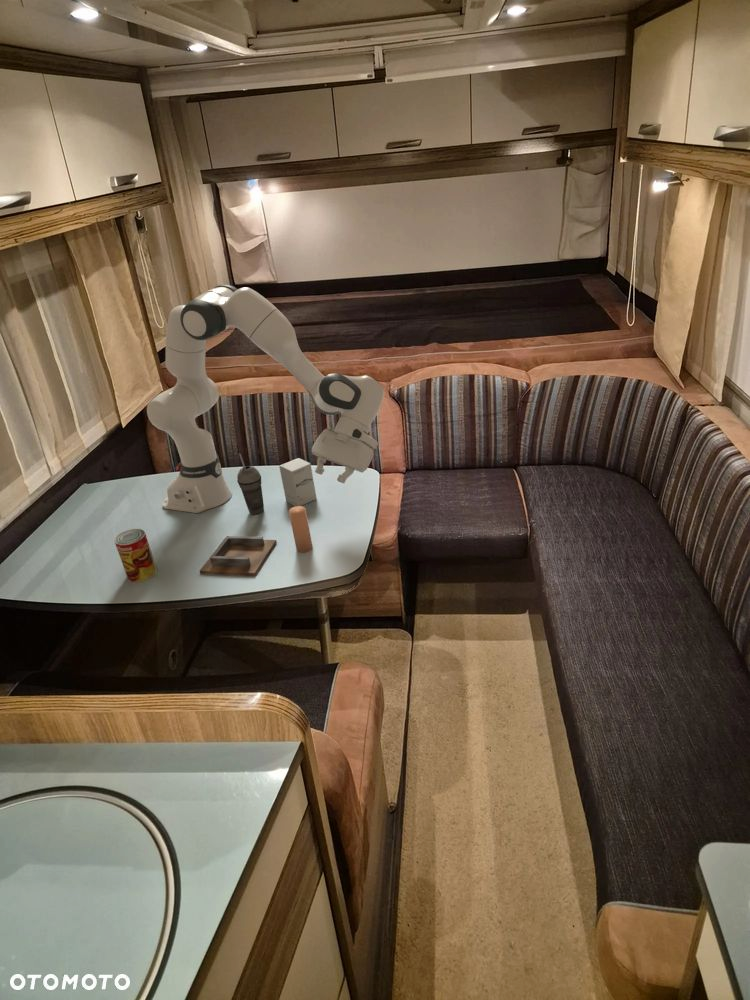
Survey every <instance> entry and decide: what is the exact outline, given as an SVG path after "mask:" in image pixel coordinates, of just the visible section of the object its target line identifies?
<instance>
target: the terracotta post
mask: <svg viewBox="0 0 750 1000" xmlns="http://www.w3.org/2000/svg"><path fill="white" fill-rule="evenodd" d="M288 515H289V520H290V525H291V530H292V534H293V539H294V544H295V549H296V551H297V552H299V553H306V552H307V553H308V552H309V551H311V550H312V549H313V542H312V536H311V531H310V525H309V520H308V516H307V515H308V514H307V510H306V507H305V506H304V505H302V506H293V507H290V509H289V510H288Z"/></svg>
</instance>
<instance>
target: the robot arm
mask: <svg viewBox="0 0 750 1000" xmlns="http://www.w3.org/2000/svg"><path fill="white" fill-rule="evenodd" d="M166 324H167V325H166V331H165V367H166V369H167V371H168V372H169V373H170V374H171V375H173V377H175V378H176V383H175V385H174V386H173V387H171V388H168V389H167V390H165V391H162V392H161V393H159V394H157V395H156V396H155V397H154V398H152V399H151V400H150V401H149V402H148V404H147V406H146V413H147V414H146V415H147V418H148V420H149V422H150V423H151V425H153V426H154V427H155V428H157V429H158V430H160V431H163V432H165V433H167V434H168V435H169V436H170V437H171V438H172V440H173V441H174V444H175V446H176V449H177V452H178V454H179V458H180V462H179V463H178V465H177V466H176V467H175V469H176V470H175V471H176V472H177V471H179V473H178V474H177V475H176V477H174V478H173V479H172V480H171V482H170V483H169V484H168V486H167V490H166V493H167V494H166V495H167V496H166V497H165V499H164V500H163V501H162V508H163V509H165V510H172V511H179V512H186V513H187V512H188V513H195V514H199V513H202V512H204V511H206V510H209V509H212V508H215V507H219V506H220V505H223V504H225V503H227V501H229V500H230V499H231V497H232V495H233V493H232V491H231V490H230V489H229V486H228V485H227V482H226V481H225V478H224V476H223V470H222V465H221V461H220V458H219V455H218V454H217V452H216V448H215V443H214V440H213V436H212V435H211V433H210V432H209V431H208V430H206V429H203V428H201V427H199V426H198V425H197V422H196V418H198V416H199V417H200V415H202V414H204V413H206V412H208V411H209V410H210V409H211V408H212V407H213V406H215V404H216V403H217V402H218V400H219V398H220V392H219V389H218V385H217V384H216V383H215V381H213V380H212V379H211V378H210V377H208V374H207V372H206V370H207V369H206V351H207V350H206V349H207V346H206V345H207V340H210V339H213V338H215V337H217V336H218V335H220V334H221V333H223V332H225V331H227V330H228V329H229V328H230V327H231V328H232V327H233V328H236V329H238V330H240V331H241V333H243V335H245V336H246V337H247V338H248V339H249V340H250V341H251V342H252V343H253V344H254V345H255V346H256V347H258V348H259V349H260V350H261V351H263V353H266V355H268V356H269V357H271V358H272V359H273V360H275V361H276V362H277V363H278V364H280V365H281V366H283V367H284V368H285V370H287V371H288V372H289V373H290V374H291V375H292V376H293V377H294V378H295V379H296V381H298V382H299V383H300V385H301V386H302V387H303V388H304V389H305V390H306V391H307V393H308V394H309V396H310V398H311V400H312V402H313V405H314V407H315V408H316V410H318V411H319V412H320V414H321V413H322V414H324V415H327V416H335V415H338V414H340V413H341V415H340V417H339V419H338V422H337V423H336V426H335V427H332V426H328V427H326V428H325V429H323V431H321V432H320V434H319V436H318V437H317V438H316V440H315V441H314V444H313V446H312V448H311V453H312V454H313V455H314V456H316V457H317V459H316V468H315V471H314V473H315V474H318V475H320V476H322V475H323V474H324V472H325V469H324V464H326V462H327V461H329V462H331V463H334V464H337V465H340V466H343V467H345V468H344V470H345V471H344V472H343V473H341V474H339V475H338V476H337V479H336V480H337V481H338V482H339V483H342V484H345V482H346V481H347V479H348V478H349V477H351V475H352V474H354V471H356V472H359V473H364V472H365V471H366V470H367V469H368V468H369V466H370V464H371V462H372V459H373V458H374V457H373V456H374V453H375V452H374V450H375V449H377V447H378V444H379V443H378V441H377V440H376V439H374V438H373V437H372V436H371V435H370V434H369V432H370V430H371V426H372V423H373V421H374V420H375V418H376V417H377V416H378V413H379V411H380V409H381V407H382V406H381V405H382V403H383V401H384V398H385V390H384V387H383V385H382V384H381V383H380V382H379V381H378V380H376V379H375V378H374V377H371V376H370V375H366V374H365V375H360V376H352V375H351V376H350V375H345V374H340V373H337V372H336V373H335V372H334V373H329V374H327V375H324V374H322V372H321V371H320V370H319V369H318V368H317V367H316V366H315V365H314V364H313V363H312V362H311V361H310V360H309V359H308V358H307V357H306V356H305V354H304V353H303V352H302V350H301V348H300V345H299V341H298V339H297V335H296V331H295V330H296V329H295V328H294V327H293V325H292V323H291V322H290V320H288V318H287V317H286V316H285V315H284V314H283V313H282V311H280V310H279V309H278V308H277V306H275V305H274V304H273V303H272V302H270V301H269V300H268V299H267V298H265V297H264V296H263V295H261V294H260V293H259V292H258V291H256V290H254V289H252V287H251V288H250V287H248V286H247V287H245V286H244V287H240V288H237V287H235V286H233V285H230V284H222V285H217V286H215V287H214V288H211V289H209V290H206V291H203V292H202V293H201V294H199V295H198V296H196V297H195V298H194V299H192V300H190V301H188V302H187V303H186V304H181V305H180V304H179V305H176V306H175V307H173V308H172V309H171V310H170V313H169V316H168V320H167V323H166Z"/></svg>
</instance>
